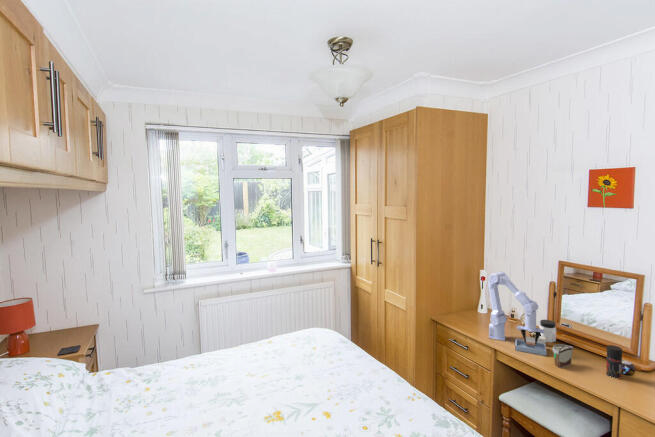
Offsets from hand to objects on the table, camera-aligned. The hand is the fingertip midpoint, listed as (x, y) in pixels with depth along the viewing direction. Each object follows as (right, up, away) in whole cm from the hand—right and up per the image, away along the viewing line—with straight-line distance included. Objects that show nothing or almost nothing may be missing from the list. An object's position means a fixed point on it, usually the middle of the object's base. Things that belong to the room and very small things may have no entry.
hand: (530, 342), depth 204 cm
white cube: (+11, -4, +7) cm, 13 cm away
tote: (0, -4, 0) cm, 4 cm away
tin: (0, -2, 0) cm, 2 cm away
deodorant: (+25, -6, -30) cm, 40 cm away
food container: (+6, -6, -17) cm, 19 cm away
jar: (+19, -3, +12) cm, 23 cm away
